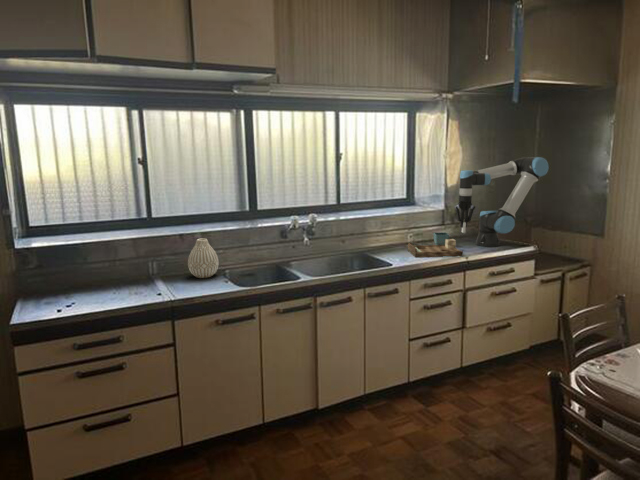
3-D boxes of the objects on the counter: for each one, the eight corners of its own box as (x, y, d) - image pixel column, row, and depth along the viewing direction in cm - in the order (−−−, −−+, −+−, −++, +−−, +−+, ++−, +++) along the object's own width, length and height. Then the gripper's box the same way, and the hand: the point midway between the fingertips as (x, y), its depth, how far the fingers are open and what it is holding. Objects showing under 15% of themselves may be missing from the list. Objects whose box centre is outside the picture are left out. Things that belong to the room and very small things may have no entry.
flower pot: (449, 248, 320) (449, 234, 318) (435, 248, 320) (435, 234, 318) (445, 245, 329) (446, 232, 327) (432, 245, 329) (433, 232, 327)
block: (452, 246, 312) (453, 239, 311) (455, 248, 307) (455, 240, 306) (445, 246, 312) (445, 239, 311) (447, 248, 307) (447, 240, 306)
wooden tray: (451, 249, 316) (452, 241, 315) (462, 256, 296) (462, 248, 295) (407, 250, 314) (407, 243, 313) (415, 257, 295) (415, 249, 294)
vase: (182, 277, 258) (180, 240, 255) (206, 270, 271) (204, 235, 267) (201, 281, 248) (198, 243, 245) (225, 275, 261) (223, 238, 257)
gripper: (473, 194, 308) (471, 231, 312) (453, 194, 307) (451, 231, 311) (477, 195, 300) (475, 233, 305) (457, 195, 300) (455, 233, 304)
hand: (463, 232), depth 308 cm, fingers closed
